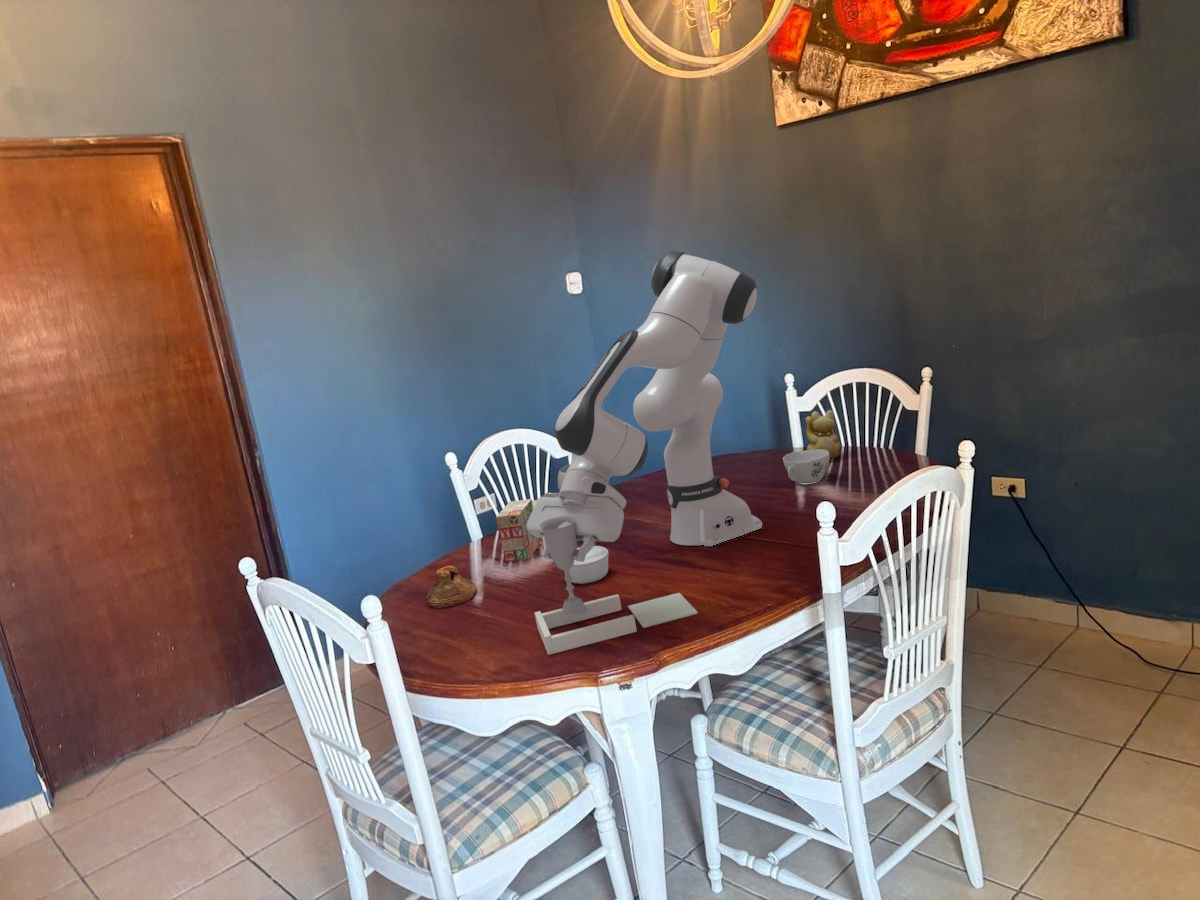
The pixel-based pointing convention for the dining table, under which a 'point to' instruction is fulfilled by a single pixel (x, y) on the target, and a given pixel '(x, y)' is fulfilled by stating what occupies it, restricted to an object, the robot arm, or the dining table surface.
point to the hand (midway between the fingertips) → (562, 559)
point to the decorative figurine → (822, 433)
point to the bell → (450, 588)
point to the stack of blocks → (517, 530)
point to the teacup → (807, 465)
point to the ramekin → (590, 566)
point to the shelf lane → (586, 633)
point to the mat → (662, 610)
